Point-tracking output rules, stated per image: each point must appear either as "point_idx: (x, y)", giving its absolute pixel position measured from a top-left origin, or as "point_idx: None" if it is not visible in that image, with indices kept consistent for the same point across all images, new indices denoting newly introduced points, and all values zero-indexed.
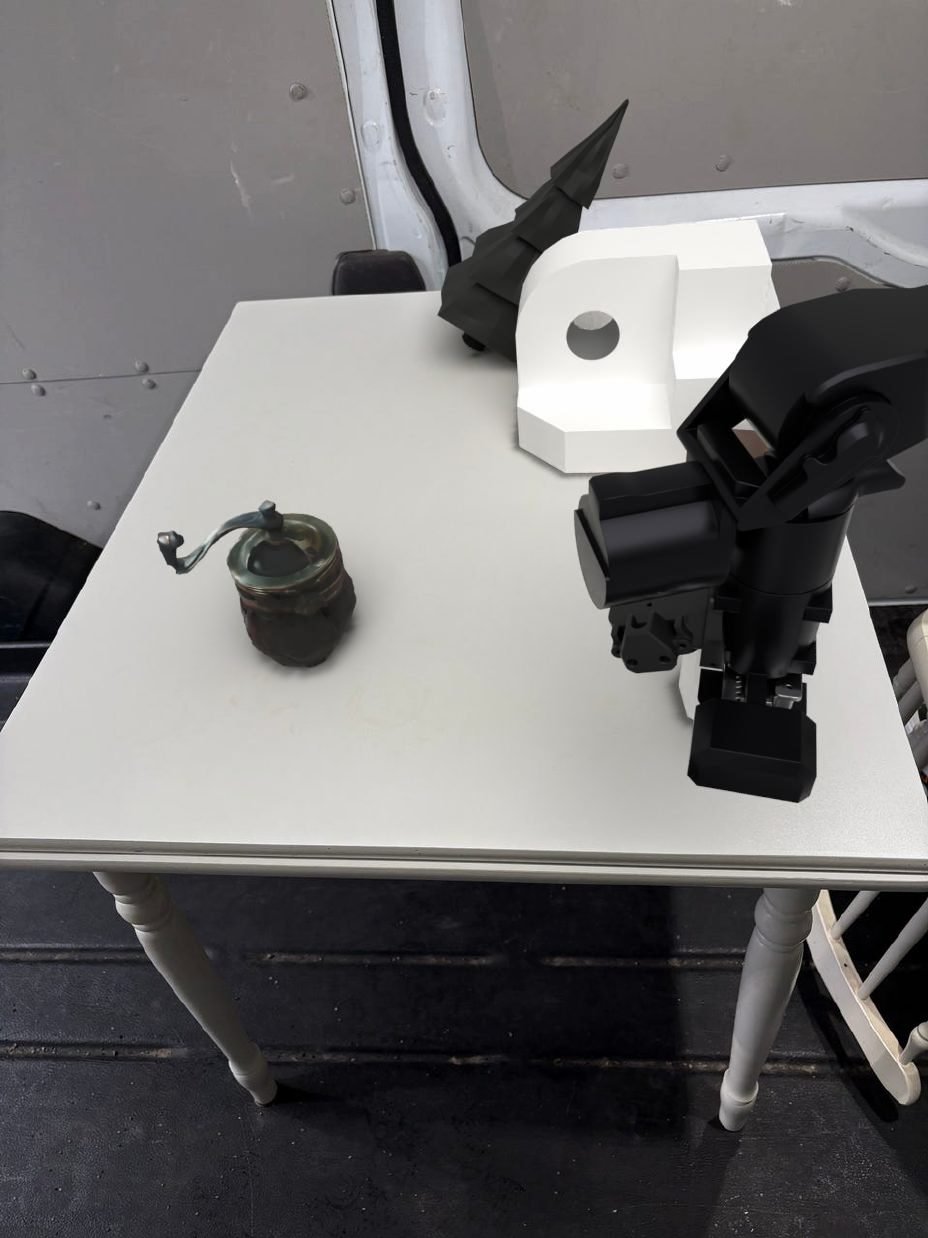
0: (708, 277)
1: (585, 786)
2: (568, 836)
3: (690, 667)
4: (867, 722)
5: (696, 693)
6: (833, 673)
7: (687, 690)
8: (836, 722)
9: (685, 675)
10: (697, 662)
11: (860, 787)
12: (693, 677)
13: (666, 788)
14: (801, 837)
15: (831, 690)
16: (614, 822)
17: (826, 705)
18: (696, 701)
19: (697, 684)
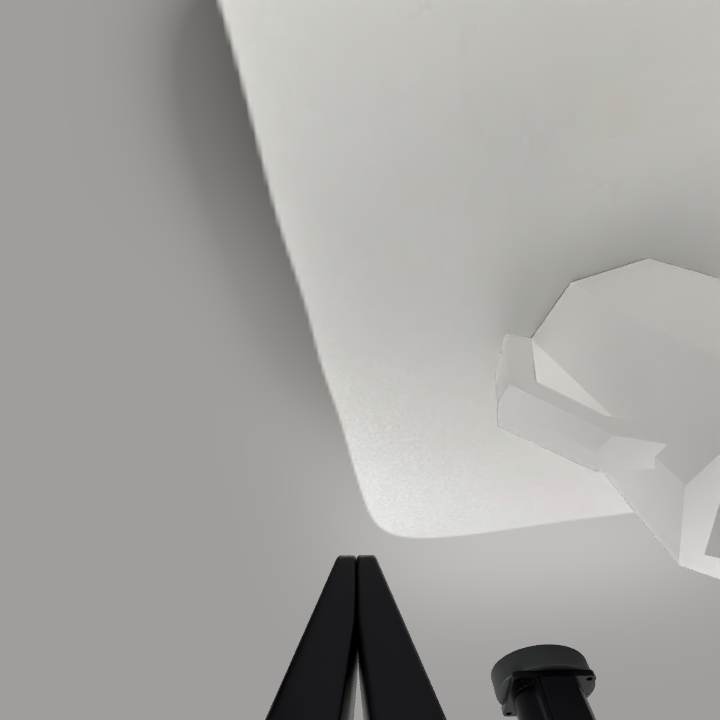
0: None
1: (390, 102)
2: (266, 90)
3: (679, 313)
4: (555, 502)
5: (608, 316)
6: None
7: (624, 290)
8: (556, 473)
9: (663, 286)
10: (688, 349)
11: (454, 495)
12: (646, 322)
13: (413, 266)
14: (368, 443)
15: None
16: (323, 183)
17: None
18: (592, 311)
19: (627, 326)
